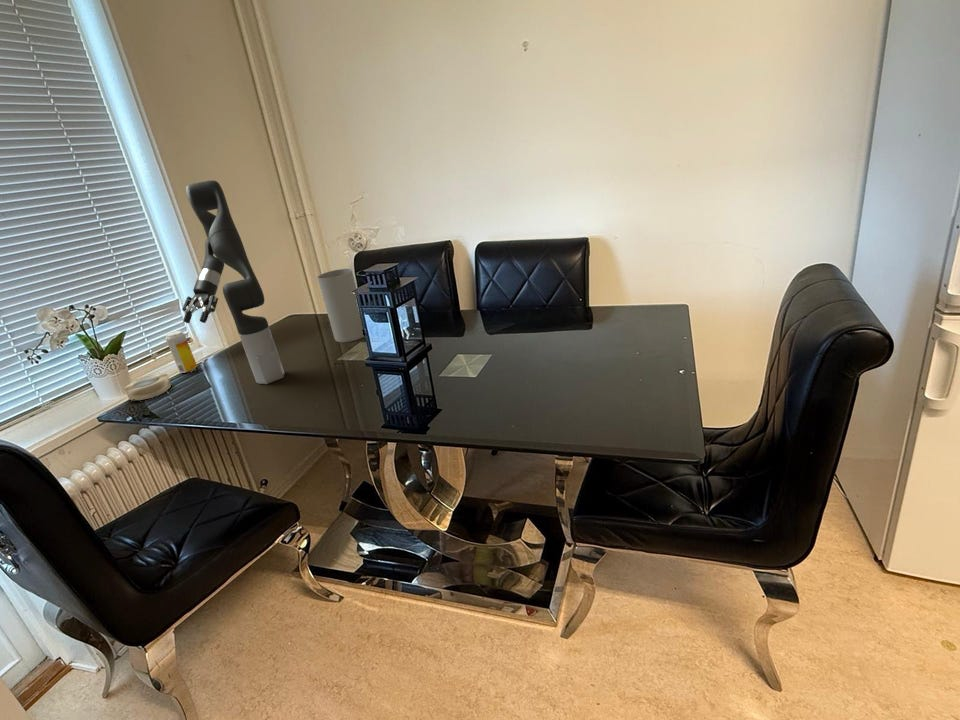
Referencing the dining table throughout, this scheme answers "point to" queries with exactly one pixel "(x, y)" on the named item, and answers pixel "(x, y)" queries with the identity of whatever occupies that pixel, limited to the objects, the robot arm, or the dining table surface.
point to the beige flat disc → (148, 387)
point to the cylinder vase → (341, 304)
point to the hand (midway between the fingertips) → (194, 322)
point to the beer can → (181, 351)
